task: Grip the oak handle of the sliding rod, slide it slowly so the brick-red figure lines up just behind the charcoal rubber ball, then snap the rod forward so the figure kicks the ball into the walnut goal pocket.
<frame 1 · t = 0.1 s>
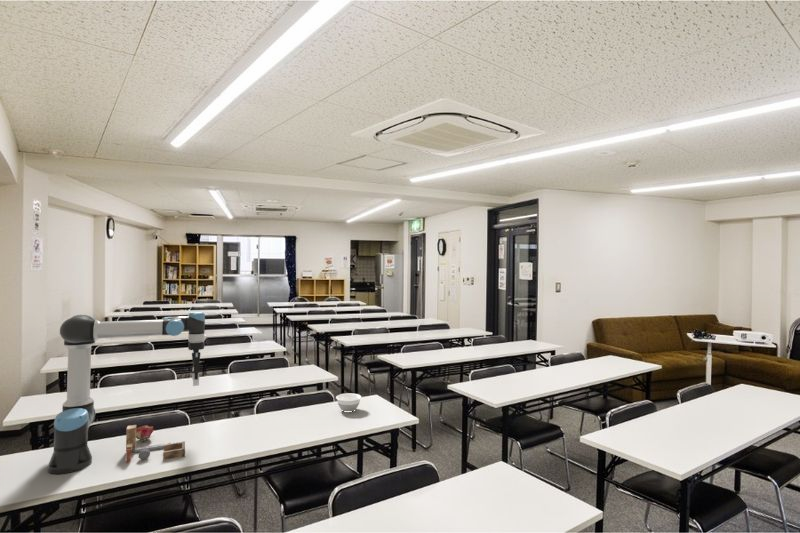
hand: (195, 382, 217), 28 cm above the table, fingers open, 13 cm apart
flower: (143, 441, 209), on the table
ball: (144, 454, 189), point 2 cm above the table
goal: (174, 454, 194), on the table
rail: (149, 449, 199), on the table
rod: (130, 443, 191), point 6 cm above the table, slide at 0.0 cm
bowl: (348, 410, 260), on the table
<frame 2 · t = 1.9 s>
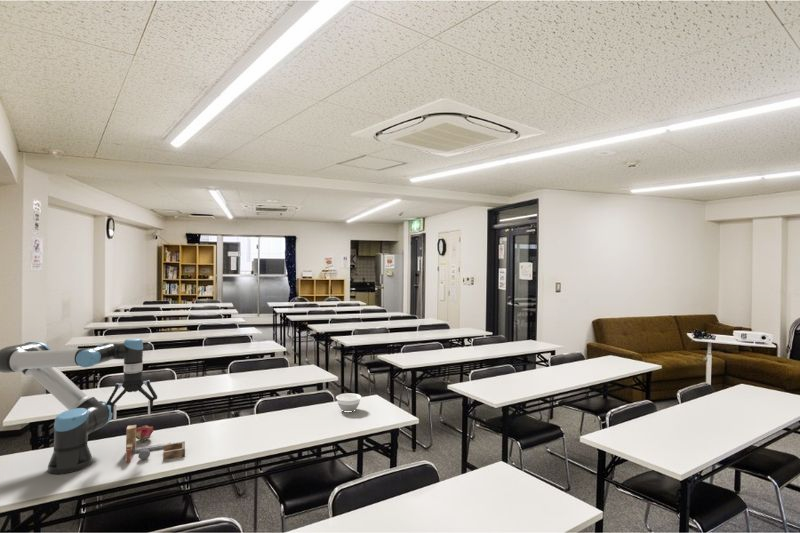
hand: (132, 416, 195), 17 cm above the table, fingers open, 13 cm apart
nothing on the table moved.
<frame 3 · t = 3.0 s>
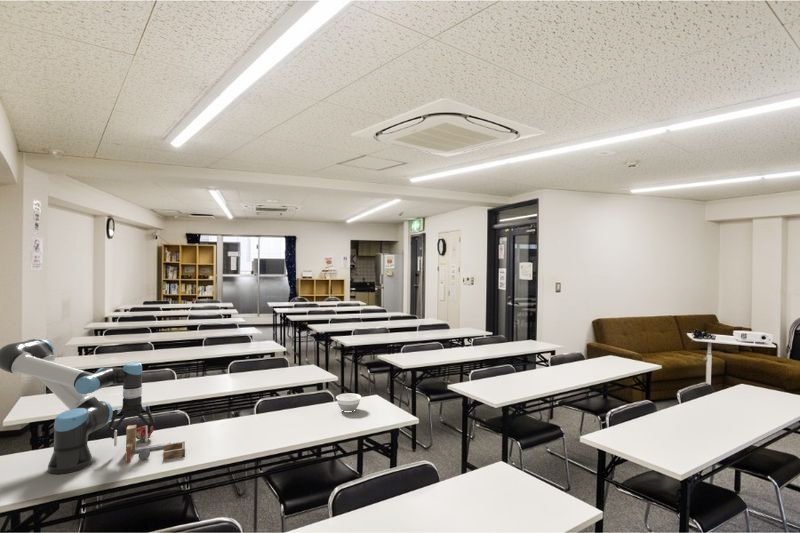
hand: (131, 442, 195), 5 cm above the table, fingers open, 12 cm apart
nothing on the table moved.
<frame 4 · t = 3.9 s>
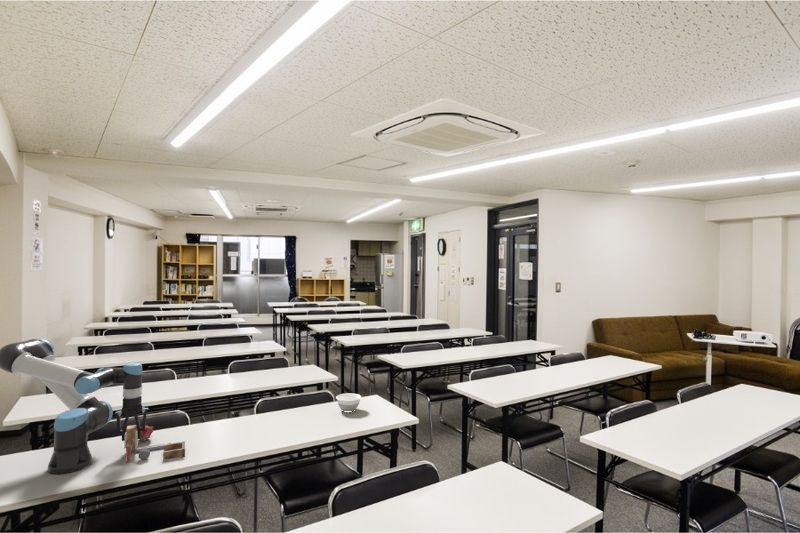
hand: (131, 446, 195), 3 cm above the table, fingers closed on rod, 4 cm apart
rod: (130, 443, 191), point 6 cm above the table, slide at 0.0 cm, touching gripper
everything else where it was.
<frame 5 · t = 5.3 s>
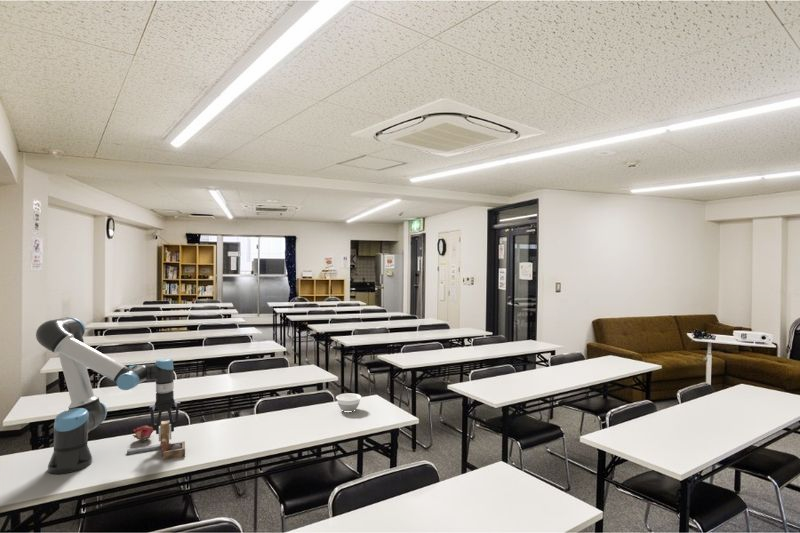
hand: (165, 439, 201), 4 cm above the table, fingers closed on rod, 4 cm apart
ball: (176, 449, 195), point 2 cm above the table, tilted 62°
rod: (164, 437, 197), point 6 cm above the table, slide at 13.9 cm, touching gripper
everything else where it was.
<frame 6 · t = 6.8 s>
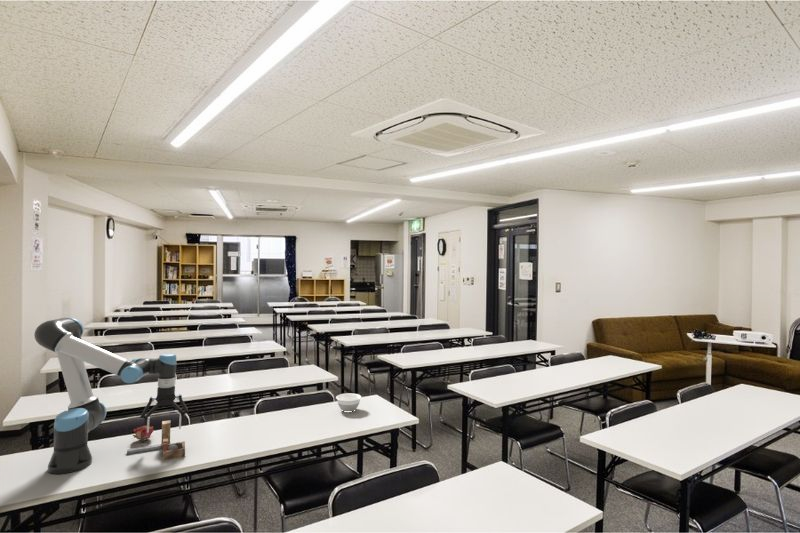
hand: (164, 429, 202), 9 cm above the table, fingers open, 13 cm apart
ball: (172, 449, 194), point 2 cm above the table, tilted 99°
rod: (165, 437, 198), point 6 cm above the table, slide at 14.3 cm
everything else where it was.
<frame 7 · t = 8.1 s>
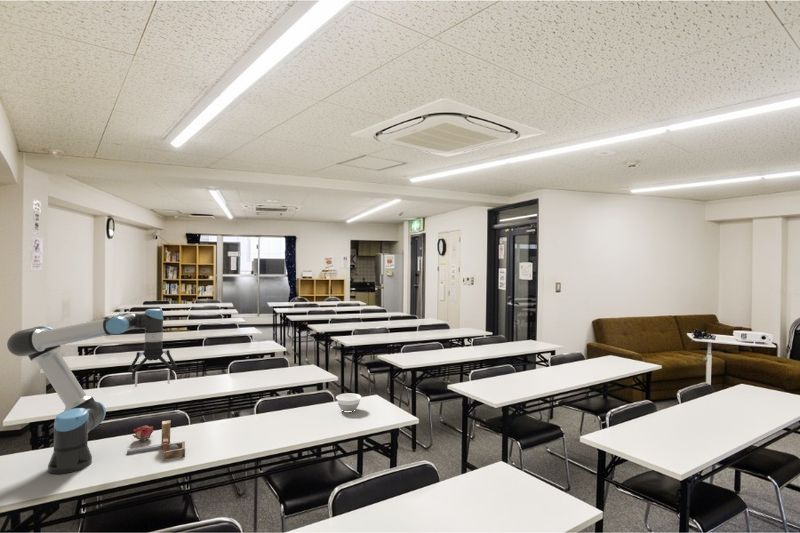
hand: (152, 384, 201), 31 cm above the table, fingers open, 13 cm apart
ball: (173, 449, 194), point 2 cm above the table, tilted 93°
everything else where it was.
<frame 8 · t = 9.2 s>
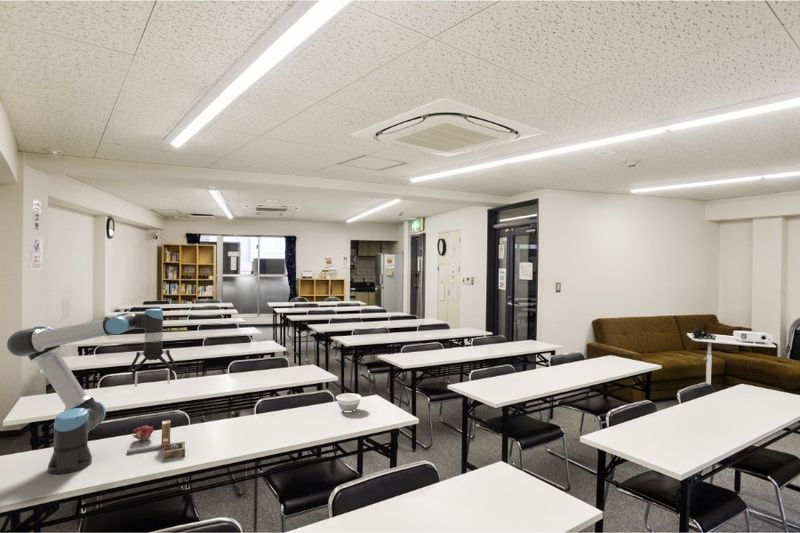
hand: (152, 384, 201), 31 cm above the table, fingers open, 13 cm apart
ball: (173, 449, 194), point 2 cm above the table, tilted 87°
everything else where it was.
at the end: ball inside the target area (0.4 cm from its centre), point 2.2 cm above the table; rod slide at 14.3 cm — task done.
